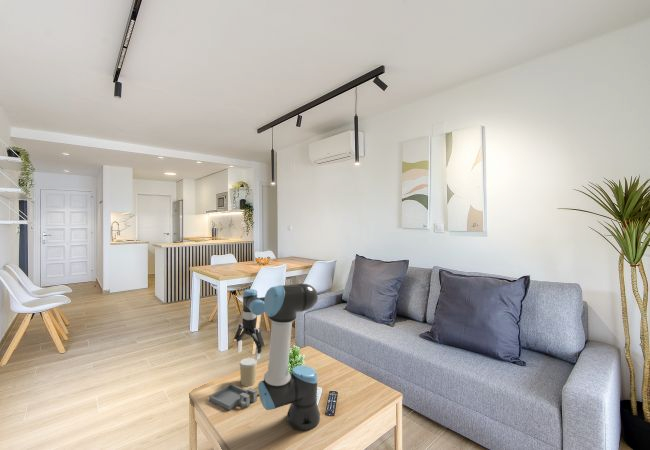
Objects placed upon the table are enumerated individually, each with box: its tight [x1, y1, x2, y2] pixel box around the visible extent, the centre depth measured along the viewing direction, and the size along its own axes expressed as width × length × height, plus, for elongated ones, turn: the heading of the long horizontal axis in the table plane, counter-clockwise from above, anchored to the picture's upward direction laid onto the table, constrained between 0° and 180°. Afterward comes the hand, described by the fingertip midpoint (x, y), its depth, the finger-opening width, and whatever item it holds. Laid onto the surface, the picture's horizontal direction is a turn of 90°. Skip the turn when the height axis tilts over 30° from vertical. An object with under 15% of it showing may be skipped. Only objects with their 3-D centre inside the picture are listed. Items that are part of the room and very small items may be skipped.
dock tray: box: [208, 383, 258, 411], centre depth 153 cm, size 19×14×5 cm
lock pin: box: [249, 379, 264, 398], centre depth 160 cm, size 15×4×4 cm, turn 150°
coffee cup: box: [239, 357, 258, 387], centre depth 170 cm, size 9×9×12 cm
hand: (248, 355), depth 170 cm, fingers open, 13 cm apart
